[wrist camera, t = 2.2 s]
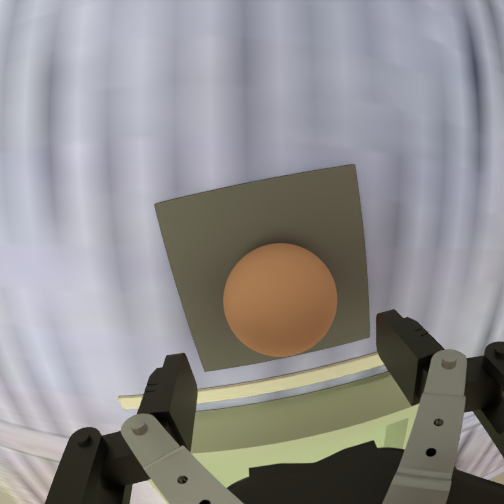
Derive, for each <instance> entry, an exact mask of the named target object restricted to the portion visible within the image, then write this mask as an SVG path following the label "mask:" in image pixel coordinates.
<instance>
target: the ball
mask: <svg viewBox="0 0 504 504" xmlns="http://www.w3.org/2000/svg"><path fill="white" fill-rule="evenodd" d="M223 305H224V312H225V316H226V319H227V322H228V324H229V326H230V328H231V330H232V331H233V333H234V334H235V335H236V337H237V338H238V339H239V340H240V341H241V342H242V343H243V344H245V345H246V346H247V347H249V348H250V349H252V350H254V351H256V352H258V353H260V354H264V355H268V356H274V357H287V356H293V355H296V354H299V353H302V352H304V351H306V350H308V349H310V348H311V347H313V346H314V345H315V344H317V343H318V342H319V341H320V340H321V339H322V338H323V337H324V336H325V334H326V333H327V332H328V330H329V328H330V327H331V325H332V322H333V320H334V317H335V314H336V309H337V291H336V285H335V282H334V279H333V277H332V275H331V273H330V271H329V269H328V268H327V266H326V265H325V264H324V263H323V262H322V261H321V260H320V259H319V258H318V257H317V256H316V255H315V254H313V253H312V252H310V251H309V250H307V249H305V248H302V247H300V246H297V245H293V244H287V243H275V244H268V245H265V246H261V247H259V248H256V249H254V250H253V251H251V252H249V253H248V254H246V255H245V256H244V257H243V258H242V259H241V260H240V261H239V262H238V263H237V264H236V265H235V267H234V268H233V269H232V271H231V273H230V274H229V276H228V279H227V281H226V285H225V289H224V295H223Z"/></svg>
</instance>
